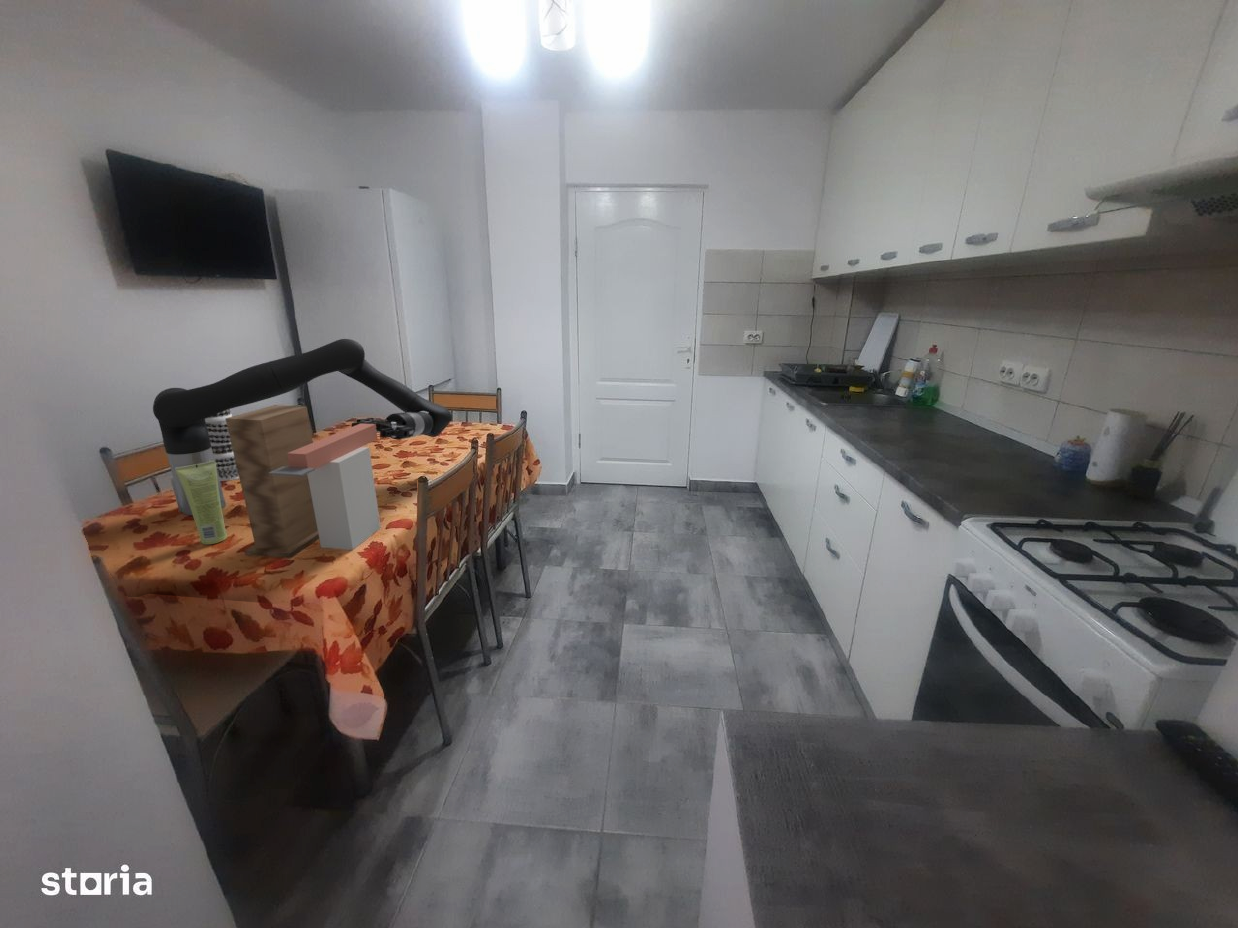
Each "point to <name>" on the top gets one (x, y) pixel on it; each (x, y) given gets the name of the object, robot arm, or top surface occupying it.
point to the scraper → (327, 450)
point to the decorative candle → (222, 446)
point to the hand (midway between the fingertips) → (366, 430)
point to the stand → (274, 479)
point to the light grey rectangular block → (345, 500)
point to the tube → (204, 500)
